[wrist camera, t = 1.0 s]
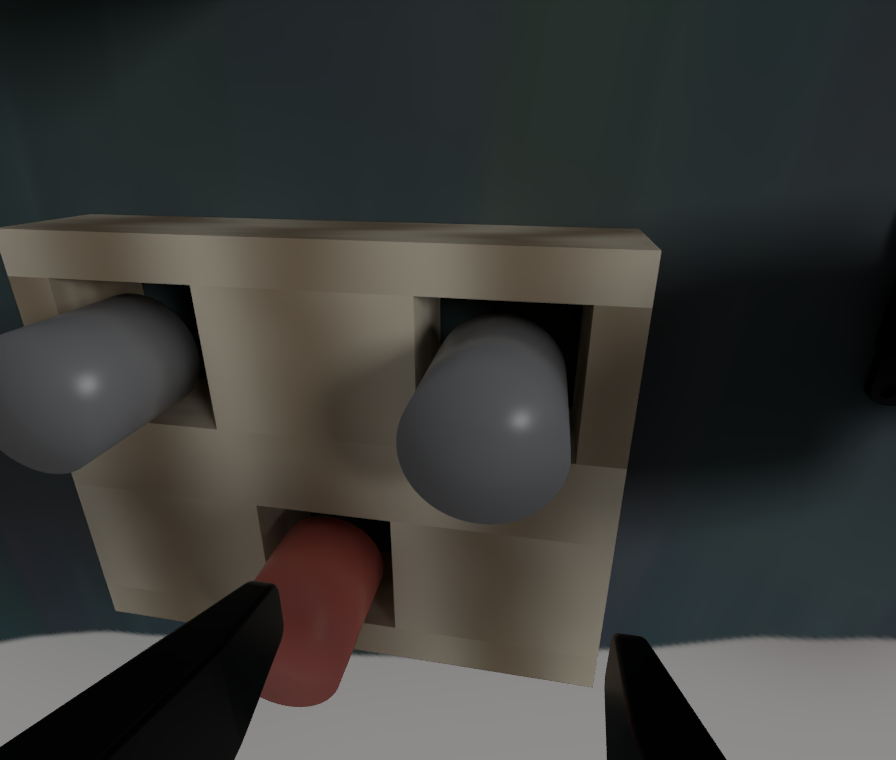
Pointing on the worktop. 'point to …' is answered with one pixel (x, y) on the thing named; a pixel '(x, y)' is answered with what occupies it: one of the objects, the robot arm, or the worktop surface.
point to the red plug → (319, 606)
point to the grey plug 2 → (489, 422)
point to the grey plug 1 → (91, 380)
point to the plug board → (352, 418)
